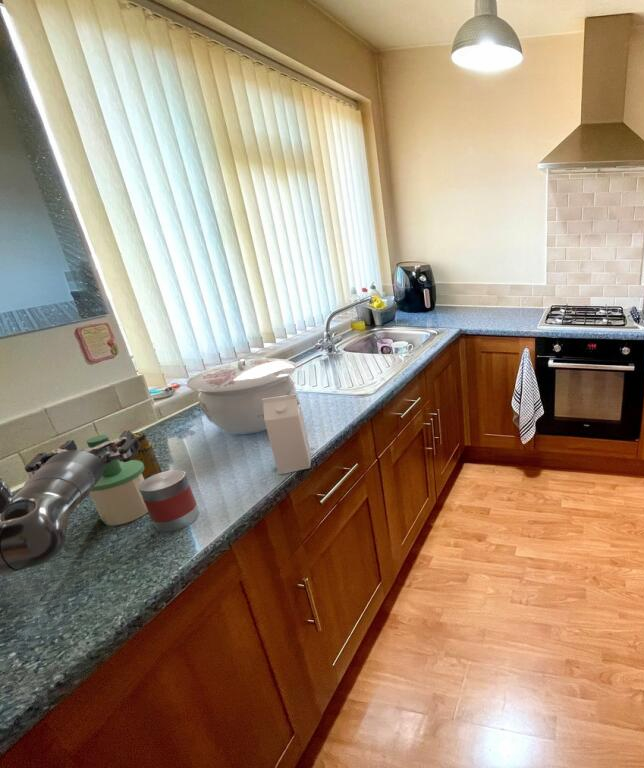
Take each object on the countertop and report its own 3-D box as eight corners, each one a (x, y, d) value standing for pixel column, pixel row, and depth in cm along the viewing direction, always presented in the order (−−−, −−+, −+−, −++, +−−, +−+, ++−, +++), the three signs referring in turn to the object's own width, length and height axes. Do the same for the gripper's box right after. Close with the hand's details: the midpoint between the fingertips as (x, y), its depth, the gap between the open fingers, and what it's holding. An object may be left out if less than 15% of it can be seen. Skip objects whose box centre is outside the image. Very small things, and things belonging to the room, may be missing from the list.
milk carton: (281, 460, 104) (264, 393, 97) (311, 454, 107) (296, 389, 100) (278, 475, 98) (260, 404, 91) (310, 468, 101) (294, 399, 94)
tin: (151, 537, 79) (132, 495, 75) (161, 515, 85) (144, 475, 81) (196, 525, 82) (180, 484, 78) (202, 504, 88) (188, 466, 84)
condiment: (141, 474, 99) (124, 431, 95) (179, 471, 100) (164, 428, 96) (120, 492, 92) (99, 447, 88) (161, 488, 94) (143, 443, 89)
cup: (96, 530, 81) (78, 493, 78) (111, 506, 88) (95, 472, 84) (147, 517, 84) (132, 481, 81) (158, 495, 91) (144, 462, 88)
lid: (71, 496, 77) (51, 456, 73) (93, 471, 85) (75, 433, 81) (136, 483, 81) (119, 444, 77) (150, 459, 89) (136, 423, 85)
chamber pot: (235, 456, 107) (213, 383, 99) (185, 431, 119) (162, 366, 112) (327, 415, 129) (315, 353, 122) (276, 398, 142) (262, 341, 134)
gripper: (110, 452, 69) (140, 415, 83) (-8, 474, 63) (44, 430, 77) (126, 488, 72) (152, 447, 86) (14, 513, 66) (61, 464, 80)
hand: (101, 439), depth 81 cm, fingers open, 8 cm apart
